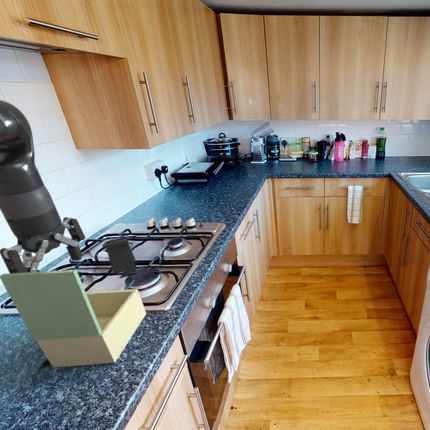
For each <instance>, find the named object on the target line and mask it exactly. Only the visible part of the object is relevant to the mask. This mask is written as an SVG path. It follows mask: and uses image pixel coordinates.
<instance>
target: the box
mask: <svg viewBox="0 0 430 430" xmlns="http://www.w3.org/2000/svg"><path fill="white" fill-rule="evenodd" d="M85 292H86V294H87V297H88V299H89V302H90V304H91V307H92V309H93V311H94V314H95V316H96V319H97V321H98V323H99V326H100V328H101V331H102V334H101V335H100V336H86V337H72V338H58V339H44V340H36V342H37V344H38V345H39V347H40V349H41V350H42V352H43V354H44V355H45V357H46V358H47V360H48V362H49V363H50V365H51V366H52V368H53V369H54V368H66V367H80V366H92V365H93V366H94V365H103V364H105V365H107V364H115V363H116V362H117V361H118V359H119V358H120V356H121V354H122V353H123V352H124V349H125V348H126V346H127V345H128V344H129V342H130V340H131V338H132V337H133V336H134V334H135V332H136V331H137V329H138V328H139V327H140V324H141V323H142V321H143V320H144V318H146V317H145V316H146V315H147V311H146V309H145V306H144V303H143V301H142V297H141V295H140V292H139V290H138V289H137V288H134V289H117V290H101V291H85Z"/></svg>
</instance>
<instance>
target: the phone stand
mask: <svg viewBox="0 0 430 430" xmlns="http://www.w3.org/2000/svg"><path fill="white" fill-rule="evenodd" d="M104 247H105V250H106V253H107V256H108V259H109V263H110V265H111V268H112V269H111V270H112V273H113V275H116V274H121V275H120V276H119V279H122V278H125V277H130V276H131V275H130V274H131V273H133V272H136V271H137V260H136V258H135V255H134V252H133V250H132V247H131V245H130V243H129V240H128V237H127V236H126V237H122V238H117V239H113V240H108V241H104ZM129 275H130V276H129Z"/></svg>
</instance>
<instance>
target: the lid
mask: <svg viewBox="0 0 430 430" xmlns="http://www.w3.org/2000/svg"><path fill="white" fill-rule="evenodd" d="M0 280H1V282H2V285H3V287H4V288H5V290H6V291H7V293H8V295H9V297H10V299H11V301H12V303H13V304H14V306H15V309H16V310H17V312H18V313H19V315H20V317H21V319H22V321H23V323H24V325H25V327H26V328H27V330H28V332H29V334H30V336H31V337H32V339H33V341H37V340H44V339H58V338H72V337H86V336H100V335H101V334H102V331H101V328H100V326H99V323H98V321H97V319H96V316H95V314H94V311H93V309H92V307H91V304H90V302H89V299H88V297H87V294H86V292H87V291H86V289H85V288H84V285H83V283H82V279H81V278H80V275H79V273H78V270H77V269H70V270H69V269H66V270H64V269H63V270H48V271H40V272H28V273H2V274H0Z"/></svg>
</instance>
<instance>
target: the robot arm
mask: <svg viewBox="0 0 430 430" xmlns="http://www.w3.org/2000/svg"><path fill="white" fill-rule="evenodd" d="M30 124H31V123H30V122H29V120H28V119H27V116H25V114H24V113H23V112H22V111H21V110H20V109H19V108H18V107H16V105H14V104H12V103H10V102H9V101H5V100H1V99H0V212H1V214H2V216H3V218H4V219H5V221H6V223H7V226H8V227H9V229H10V231H11V232H12V234H13V235H14V237H15V238H16V239H17V240H16V241H17V243H16V244H15V245H13V246H11V247H9V248H6V247H2V248H0V256H1V259H2V261H3V263H4V265H5V266H6V269H7V271H8V274H10V273H28V272H41V271H40V270H39V269H38V268H39V265H40V263H41V262H42V261H43V259H44V257H45V255H47V254H48V253H50V252H51V251H52V250H55V249H57V248H59V247H61V244H63V245H66V247H65V248H66V250H67V252H68V255H69V256H70V259H71V260H72V261H77V262H79V261H81V260H82V256H83V252H82V251H81V248H80V243H81V242H82V241H84V240H85V239H86V235H85V233H84V231H83V229H82V227H81V225H80V223H79V221H78V219H77V218H73V217H67V216H66V217H63V219H61V216H60V214H59V211H58V209H57V207H56V204H55V203H54V200H53V197H52V196H51V193H50V191H49V190H48V188H47V187H46V184H45V183H44V181H43V178H42V176H41V173H40V172H39V169H38V167H37V165H36V161H35V159H36V157H35V156H36V155H35V154H36V153H35V144H34V137H33V130H32V128H31V125H30ZM66 229H67V232H68V233H69V235H70V237H71V238H70V237H68V236H65V231H66ZM22 250H23V252H22ZM32 254H35V255H32Z"/></svg>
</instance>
